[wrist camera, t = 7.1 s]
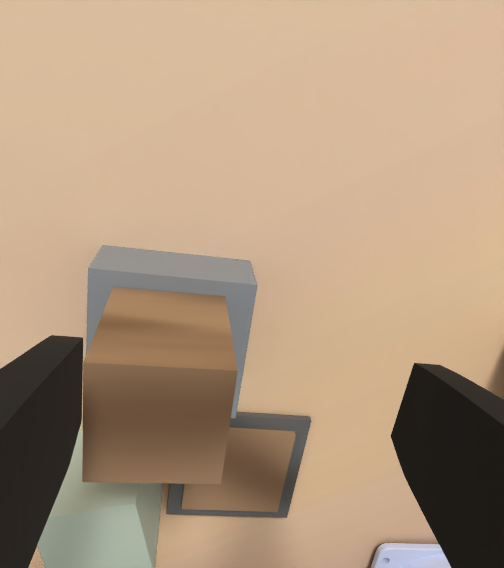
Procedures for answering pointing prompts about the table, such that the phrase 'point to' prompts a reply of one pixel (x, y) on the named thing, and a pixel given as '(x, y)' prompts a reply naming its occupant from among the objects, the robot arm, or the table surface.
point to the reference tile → (250, 470)
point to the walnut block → (158, 389)
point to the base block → (176, 287)
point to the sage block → (101, 522)
